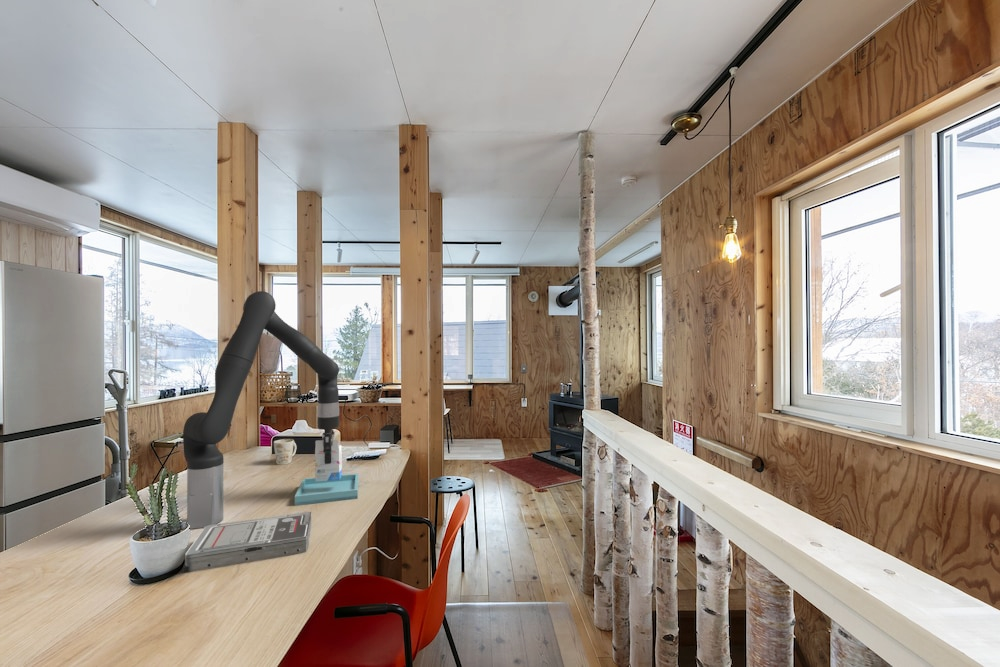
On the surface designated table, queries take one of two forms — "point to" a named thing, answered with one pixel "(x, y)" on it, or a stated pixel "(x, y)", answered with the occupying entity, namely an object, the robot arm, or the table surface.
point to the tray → (327, 490)
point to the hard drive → (249, 541)
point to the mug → (284, 451)
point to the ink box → (328, 470)
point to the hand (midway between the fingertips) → (328, 461)
